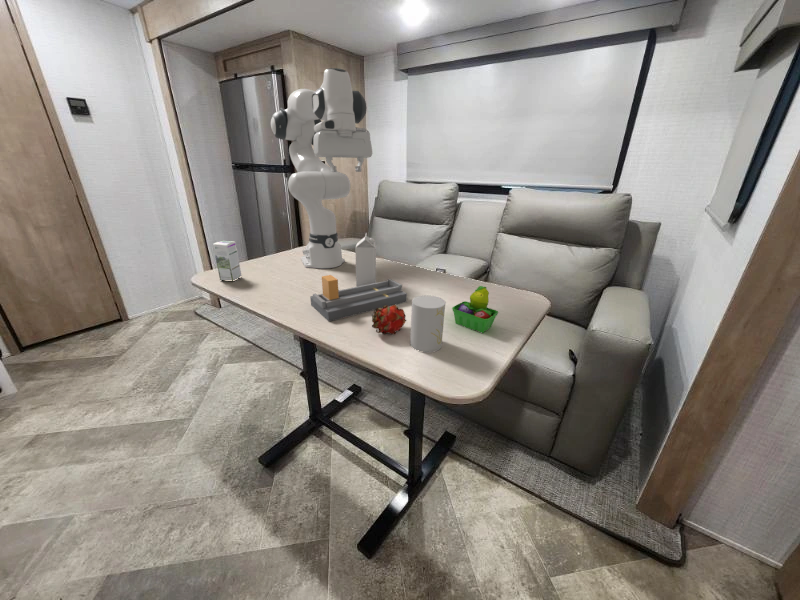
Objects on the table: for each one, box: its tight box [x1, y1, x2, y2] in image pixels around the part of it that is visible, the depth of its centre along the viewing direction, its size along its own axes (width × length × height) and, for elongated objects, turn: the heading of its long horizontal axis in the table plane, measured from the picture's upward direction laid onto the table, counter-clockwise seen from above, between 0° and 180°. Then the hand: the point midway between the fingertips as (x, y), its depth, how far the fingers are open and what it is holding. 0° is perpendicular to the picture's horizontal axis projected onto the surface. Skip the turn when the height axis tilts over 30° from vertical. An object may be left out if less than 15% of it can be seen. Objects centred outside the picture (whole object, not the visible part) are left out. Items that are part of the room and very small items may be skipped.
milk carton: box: [354, 232, 377, 287], centre depth 120 cm, size 7×7×19 cm
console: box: [310, 278, 408, 322], centre depth 106 cm, size 14×29×5 cm, turn 125°
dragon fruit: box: [371, 304, 407, 336], centre depth 88 cm, size 8×8×12 cm
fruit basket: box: [451, 285, 499, 334], centre depth 93 cm, size 11×9×11 cm
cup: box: [409, 294, 446, 353], centre depth 82 cm, size 8×8×12 cm
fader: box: [321, 274, 340, 302], centre depth 99 cm, size 5×4×7 cm
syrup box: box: [212, 240, 243, 281], centre depth 122 cm, size 6×6×14 cm
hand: (346, 171), depth 110 cm, fingers open, 8 cm apart
